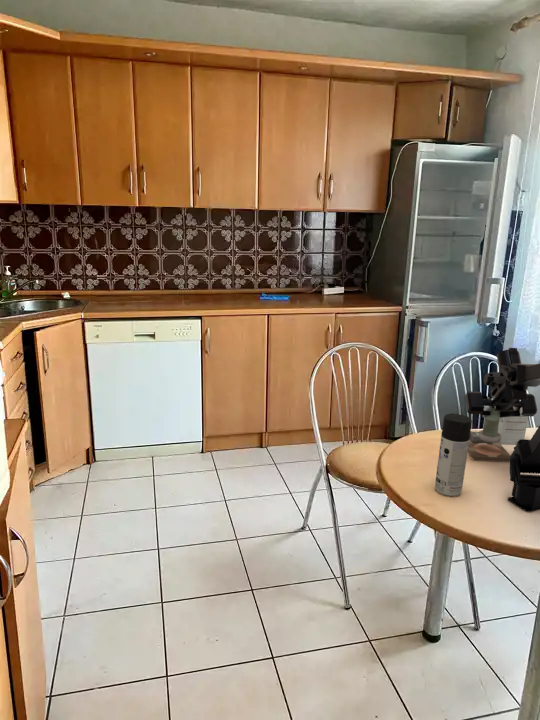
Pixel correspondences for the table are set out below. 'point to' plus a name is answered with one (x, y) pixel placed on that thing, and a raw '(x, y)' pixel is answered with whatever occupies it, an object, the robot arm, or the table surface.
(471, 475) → the table surface
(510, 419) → the supplement box
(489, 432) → the ring stacking peg
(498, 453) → the digital kitchen scale
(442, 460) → the spray can
